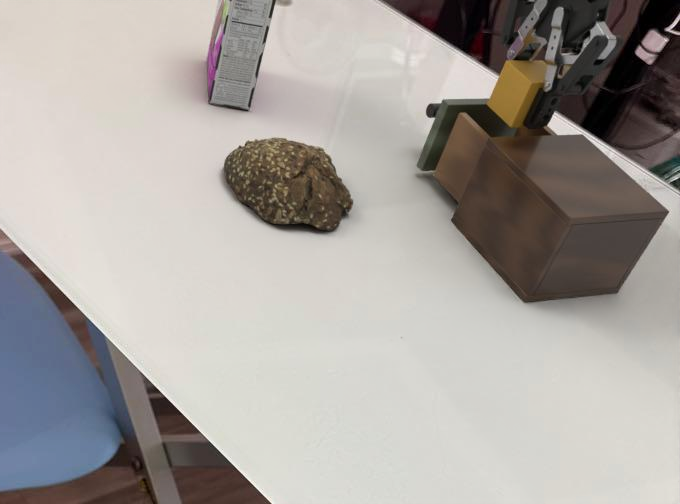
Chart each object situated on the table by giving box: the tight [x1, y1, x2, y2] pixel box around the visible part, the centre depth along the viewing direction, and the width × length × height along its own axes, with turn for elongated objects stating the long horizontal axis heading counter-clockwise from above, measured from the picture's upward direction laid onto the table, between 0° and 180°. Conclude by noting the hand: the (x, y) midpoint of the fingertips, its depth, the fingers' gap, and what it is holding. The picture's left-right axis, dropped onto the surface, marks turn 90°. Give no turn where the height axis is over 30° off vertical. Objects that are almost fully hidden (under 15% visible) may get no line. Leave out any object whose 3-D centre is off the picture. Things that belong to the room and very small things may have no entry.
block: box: [487, 59, 561, 128], centre depth 94 cm, size 4×4×4 cm
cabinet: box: [450, 133, 670, 303], centre depth 94 cm, size 13×11×9 cm
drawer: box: [415, 97, 558, 204], centre depth 100 cm, size 17×10×7 cm, turn 20°
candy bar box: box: [206, 0, 277, 111], centre depth 104 cm, size 11×5×16 cm, turn 179°
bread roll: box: [222, 137, 354, 231], centre depth 95 cm, size 13×12×5 cm
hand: (518, 112), depth 96 cm, fingers closed on block, 4 cm apart
